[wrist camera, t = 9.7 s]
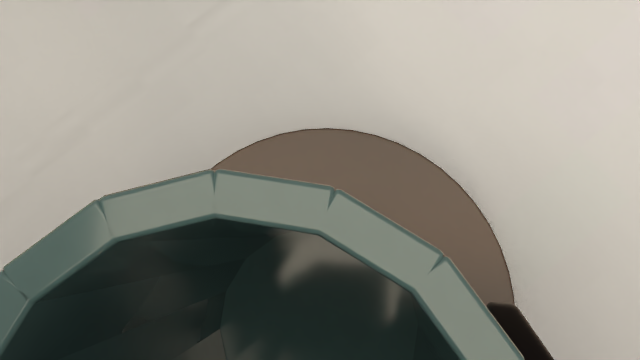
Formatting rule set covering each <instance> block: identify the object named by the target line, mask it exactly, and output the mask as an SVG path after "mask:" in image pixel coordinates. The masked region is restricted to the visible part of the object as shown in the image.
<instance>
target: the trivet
mask: <svg viewBox="0 0 640 360" xmlns="http://www.w3.org/2000/svg"><path fill="white" fill-rule="evenodd" d="M218 169H226V170H233V171H239V172H246V173H252V174H259V175H265V176H272V177H278V178H285V179H292V180H298V181H305V182H311V183H318V184H324V185H330V186H332V187H333V188H335V190H336V189H340V190H343V191H345V192H346V193H348V194H350V195H351V196H353V197H355V198H356V199H358V200H359V201H361V202H363V203H364V204H366V205H368V206H369V207H371V208H373V209H374V210H376V211H378V212H379V213H381V214H383V215H384V216H386V217H387V218H389V219H391V220H392V221H394V222H396V223H397V224H399V225H401V226H402V227H404V228H406V229H407V230H409V231H411V232H412V233H414V234H415V235H417V236H419V237H420V238H422V239H424V240H425V241H427V242H429V243H430V244H432V245H434V246H435V247H437V248H439V249H440V250H441V251H442V252H443V254H444V255H445V256H447V257H449V258H450V259H451V260H452V261H453V263H454V264H455V265H456V267H457V268H458V269H459V271H460V272H461V273H462V275H463V276H464V277H465V279H466V280H467V281H468V283H469V284H470V285H471V287H472V288H473V289H474V291H475V292H476V293H477V295H478V296H479V298H480V299H481V300H482V302H483V303H484V304H485V306H487V304H488V303H490V302H500V303H511V304H514V295H513V290H512V285H511V280H510V275H509V270H508V268H507V265H506V262H505V259H504V256H503V253H502V250H501V247H500V245H499V243H498V241H497V239H496V237H495V235H494V233H493V231H492V229H491V227H490V225H489V223H488V222H487V220H486V219H485V217H484V216H483V214H482V213H481V211H480V210H479V208H478V207H477V205H476V204H475V202H474V201H473V200H472V199H471V198H470V197H469V195H468V194H467V193H466V192H465V191H464V190H463V189H462V187H461V186H460V185H459V184H458V183H457V182H456V181H455V180H453V179H452V178H451V177H450V176H449V175H448V174H447V173H445V172H444V171H443V170H442V169H441V168H440V167H438V166H437V165H435V164H434V163H432V162H431V161H429V160H428V159H426V158H425V157H423V156H422V155H421V154H419V153H417V152H415V151H413V150H411V149H409V148H407V147H405V146H403V145H401V144H399V143H396V142H394V141H391V140H388V139H385V138H382V137H379V136H376V135H372V134H368V133H363V132H358V131H353V130H343V129H330V128H324V129H305V130H299V131H294V132H288V133H283V134H279V135H276V136H273V137H269V138H266V139H263V140H260V141H257V142H255V143H253V144H251V145H249V146H247V147H245V148H243V149H241V150H238V151H237V152H235V153H233V154H232V155H230V156H229V157H227V158H226V159H224V160H222V161H221V162H219V163H218V164H216V165H215V166H214V167H213V168H212V169H211V170H215V171H216V170H218Z"/></svg>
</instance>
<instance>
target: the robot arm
mask: <svg viewBox="0 0 640 360" xmlns="http://www.w3.org/2000/svg"><path fill="white" fill-rule="evenodd" d="M486 307H487V308H488V310H489V311H490V312H491V314H492V315H493V316H494V318H495V319H496V320H497V322H498V323H499V324H500V326H501V327H502V328H503V330H504V331H505V332H506V334H507V335H508V336H509V338H510V339H511V340H512V342H513V343H514V344H515V346H516V347H517V348H518V350H519V351H520V352H521V354H522V355H523V356H524V360H554V359H553V358H552V356H551V355H550V353H549V352H548V350H547V349H546V348H545V346H544V345H543V343H542V342H541V340H540V339H539V338H538V336H537V335H536V333H535V332H534V330H533V329H532V328H531V326H530V325H529V323H528V322H527V320H526V319H525V318H524V316H523V315H522V313H521V312H520V310H519V309H518V308H517V307H516V306H515V305H514V304H511V303H500V302H490V303H488V304H487V306H486Z"/></svg>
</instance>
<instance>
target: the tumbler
mask: <svg viewBox="0 0 640 360" xmlns="http://www.w3.org/2000/svg"><path fill="white" fill-rule="evenodd" d="M0 360H524V356H523V355H522V354H521V352H520V351H519V350H518V348H517V347H516V346H515V344H514V343H513V342H512V340H511V339H510V338H509V336H508V335H507V334H506V332H505V331H504V330H503V328H502V327H501V326H500V324H499V323H498V322H497V320H496V319H495V318H494V316H493V315H492V314H491V312H490V311H489V310H488V308H487V307H486V306H485V304H484V303H483V302H482V300H481V299H480V298H479V296H478V295H477V293H476V292H475V291H474V289H473V288H472V287H471V285H470V284H469V283H468V281H467V280H466V279H465V277H464V276H463V275H462V273H461V272H460V271H459V269H458V268H457V267H456V265H455V264H454V263H453V261H452V260H451V259H450V258H449V257H447V256H445V255H444V254H443V252H442V251H441V250H440V249H439V248H437V247H435V246H434V245H432V244H430V243H429V242H427V241H425V240H424V239H422V238H420V237H419V236H417V235H415V234H414V233H412V232H411V231H409V230H407V229H406V228H404V227H402V226H401V225H399V224H397V223H396V222H394V221H392V220H391V219H389V218H387V217H386V216H384V215H383V214H381V213H379V212H378V211H376V210H374V209H373V208H371V207H369V206H368V205H366V204H364V203H363V202H361V201H359V200H358V199H356V198H355V197H353V196H351V195H350V194H348V193H346V192H345V191H343V190H340V189H336V190H335V188H333V187H332V186H330V185H324V184H318V183H311V182H305V181H298V180H292V179H285V178H278V177H272V176H265V175H259V174H252V173H246V172H239V171H233V170H226V169H218V170H216V171H215V170H211V169H208V170H204V171H200V172H196V173H192V174H188V175H184V176H180V177H176V178H172V179H168V180H164V181H160V182H156V183H152V184H148V185H144V186H140V187H136V188H132V189H128V190H124V191H120V192H116V193H112V194H108V195H104V196H103V197H101V198H100V199H98V200H94V201H92V202H91V203H90V204H88V205H87V206H86V207H84V208H83V209H82V210H80V211H79V212H77V213H76V214H75V215H73V216H72V217H71V218H69V219H68V220H67V221H65V222H64V223H63V224H61V225H60V226H58V227H57V228H56V229H54V230H53V231H52V232H50V233H49V234H48V235H46V236H45V237H44V238H42V239H41V240H39V241H38V242H37V243H35V244H34V245H33V246H31V247H30V248H29V249H27V250H26V251H25V252H23V253H22V254H20V255H19V256H18V257H16V258H15V259H14V260H12V261H11V262H10V263H8V264H7V265H6V266H5V267H4V268H3V270H2V271H1V272H0Z"/></svg>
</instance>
